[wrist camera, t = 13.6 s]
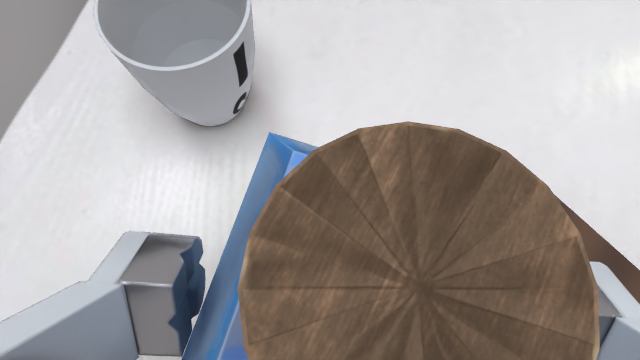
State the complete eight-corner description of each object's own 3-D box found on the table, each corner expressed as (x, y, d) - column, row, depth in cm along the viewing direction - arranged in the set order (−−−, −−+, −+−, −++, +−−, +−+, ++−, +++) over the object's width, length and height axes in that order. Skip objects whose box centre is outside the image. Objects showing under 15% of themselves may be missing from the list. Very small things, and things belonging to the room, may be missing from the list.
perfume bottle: (401, 426, 14) (778, 928, 3) (224, 364, 15) (-95, 570, 3) (444, 247, 16) (786, 87, 4) (285, 196, 16) (220, -70, 5)
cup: (265, 145, 31) (248, 69, 22) (151, 146, 31) (83, 70, 21) (266, 47, 34) (251, -59, 24) (160, 48, 33) (103, -60, 24)
